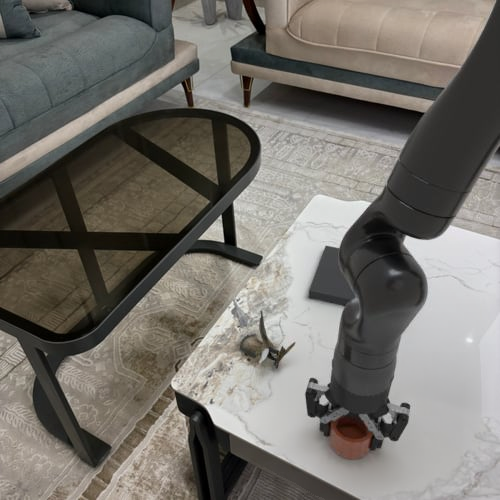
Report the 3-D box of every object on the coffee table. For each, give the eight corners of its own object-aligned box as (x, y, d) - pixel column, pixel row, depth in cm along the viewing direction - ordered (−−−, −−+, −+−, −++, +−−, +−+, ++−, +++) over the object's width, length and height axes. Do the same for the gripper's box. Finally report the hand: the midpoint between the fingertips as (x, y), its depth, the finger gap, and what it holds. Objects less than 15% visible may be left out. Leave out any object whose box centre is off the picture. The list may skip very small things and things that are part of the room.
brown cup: (374, 428, 75) (378, 409, 72) (367, 466, 70) (371, 448, 67) (333, 416, 77) (335, 397, 73) (324, 453, 72) (326, 434, 69)
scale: (404, 267, 101) (407, 254, 99) (395, 318, 91) (398, 305, 89) (325, 252, 106) (326, 239, 104) (307, 299, 96) (308, 286, 93)
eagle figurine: (302, 346, 85) (267, 311, 90) (291, 340, 79) (254, 303, 83) (272, 379, 85) (238, 343, 90) (258, 375, 79) (223, 336, 83)
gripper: (425, 359, 63) (403, 429, 74) (313, 332, 67) (308, 402, 78) (419, 410, 58) (396, 477, 68) (298, 377, 62) (295, 446, 72)
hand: (349, 437), depth 73 cm, fingers closed on brown cup, 6 cm apart
